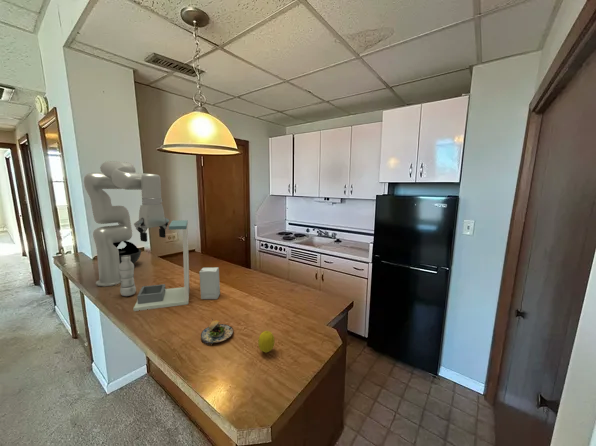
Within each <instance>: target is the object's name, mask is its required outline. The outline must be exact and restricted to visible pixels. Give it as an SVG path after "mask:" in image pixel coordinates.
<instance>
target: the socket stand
mask: <svg viewBox="0 0 596 446" xmlns="http://www.w3.org/2000/svg"><path fill="white" fill-rule="evenodd" d="M188 223H189V222H188V220H187V219H185V220H183V219H181V220H180V219H179V220H171V222H170V223H169V224H168V230H170V231H171V230H173V231H174V230H182V253H183V286H182V287H171V288H166V284H165V283H164V284H162V283H161V284H155V285H154V284H153V285H152V284H151V285H143V286H142V287H141V288H140V290H139V292H138V294H137V295H136V296H137V297H136V299H137V300H136V303H135V305H134V306H133V308H132V309H133V312H139V310H140V311H148V310H154V309H160V308H161V309H163V308H170V307H176V306H184V305H189V301H190V298H189V297H190V265H189V262H190V260H189V259H190V258H189V256H190V255H189V225H188ZM147 309H148V310H147Z"/></svg>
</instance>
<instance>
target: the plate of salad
mask: <svg viewBox="0 0 596 446" xmlns="http://www.w3.org/2000/svg"><path fill="white" fill-rule="evenodd" d="M211 319H212V321H211V322H210V324H209V326H208V327H205V329H203V330H202V331H201V333H200V342H201V343H202V344H203V345H205V346H209V347H212V345H213V344H216V343H217V344H218V343H220V342H223V341H226V340H228V339H229V338H230V337H232V335H233V332H234V327H232V326H230V325H229V324H225V323H224V324H223V323H222V324H221V321H220V320H218V319H217V320H214V319H213V318H211Z"/></svg>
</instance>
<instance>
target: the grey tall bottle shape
mask: <svg viewBox="0 0 596 446" xmlns="http://www.w3.org/2000/svg"><path fill="white" fill-rule="evenodd" d="M130 260H131V258H130V255H125V256H122V257H121V261H122V262H121V263H120V265H119V267H118V268H119V273H120V278H121V283H120V289H119V292H120V295H121V296H123V297H129V296H133V295H135V294H136V292H137V286H136V284H135V278H134V277H135V276H134V275H135V273H134V272H135V263H134V264H133V263H132V262H131V261H130Z"/></svg>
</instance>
